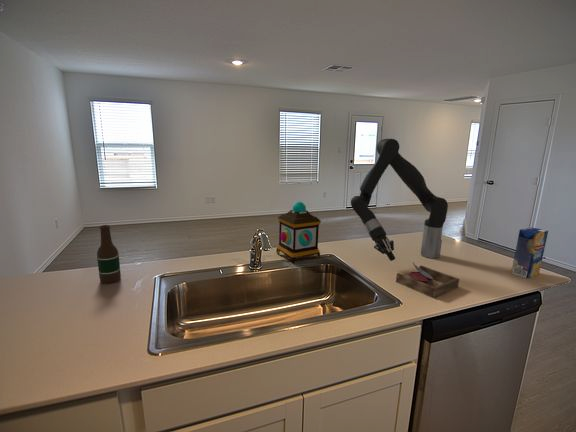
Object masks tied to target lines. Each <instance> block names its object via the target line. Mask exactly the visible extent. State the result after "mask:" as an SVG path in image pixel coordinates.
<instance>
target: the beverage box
mask: <svg viewBox="0 0 576 432" xmlns="http://www.w3.org/2000/svg"><path fill="white" fill-rule="evenodd" d="M548 234H549V230H546V229H541V228H537V227H527V228H521V229H519V232H518V237H517V242H516V248H515V252H514V258H513V262H512V269H511V271H510V272H511V274H512V275H515V276H518V277H522V278H525V279H530V278H533V277H536V276H538V275H540V271H541V266H542V262H543V257H544V253H545V248H546V243H547V239H548V236H549V235H548Z"/></svg>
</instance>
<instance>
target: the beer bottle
mask: <svg viewBox="0 0 576 432" xmlns="http://www.w3.org/2000/svg"><path fill="white" fill-rule="evenodd" d="M99 229H100V246H99V247H98V249H97V252H96V258H97V259H96V260H97V261H96V262H97V266H98V276H99V282H100V283H102V285H106V284H107V285H111V284H114V283H117V282H119V281H120V280H121V278H122V275H121V265H120V257H119V256H120V254H119V250H118V248H117V247H116V246H115V244H114V243H113V240H112V236H111V235H112V234H111V230H110V229H111V227H110V225H109V224H103V225H101V226H99Z"/></svg>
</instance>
